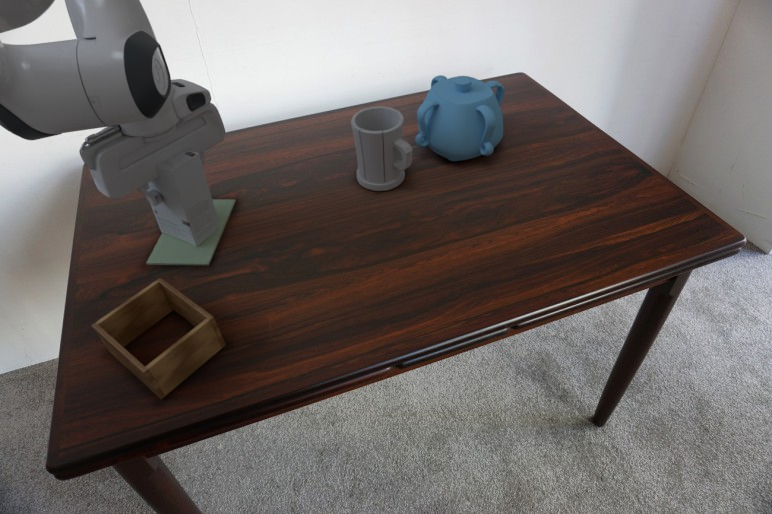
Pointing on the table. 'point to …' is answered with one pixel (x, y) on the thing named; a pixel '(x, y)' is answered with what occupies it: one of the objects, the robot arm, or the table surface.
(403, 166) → the cup
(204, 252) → the mat
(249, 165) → the table surface
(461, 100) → the decorative pot
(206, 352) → the wooden box
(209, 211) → the cosmetic box
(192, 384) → the table surface
